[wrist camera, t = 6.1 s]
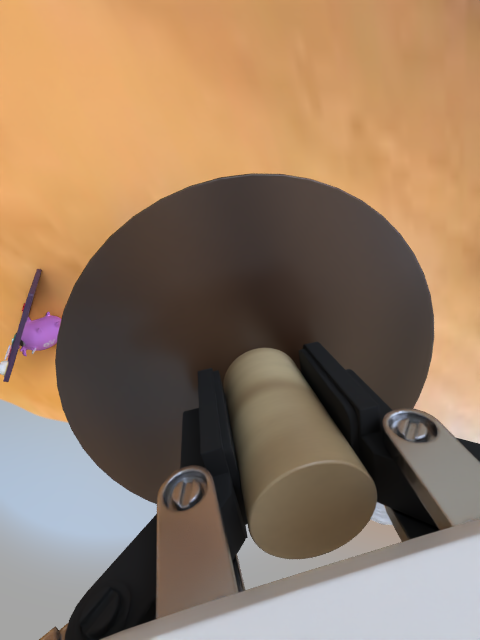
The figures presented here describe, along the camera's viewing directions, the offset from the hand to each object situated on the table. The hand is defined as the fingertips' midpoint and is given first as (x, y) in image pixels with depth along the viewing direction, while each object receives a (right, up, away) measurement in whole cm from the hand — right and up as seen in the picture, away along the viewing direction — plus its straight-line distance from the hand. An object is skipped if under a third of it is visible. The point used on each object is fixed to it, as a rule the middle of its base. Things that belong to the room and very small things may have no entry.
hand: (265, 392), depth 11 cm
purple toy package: (-21, +3, +21) cm, 30 cm away
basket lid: (0, 0, +1) cm, 1 cm away
